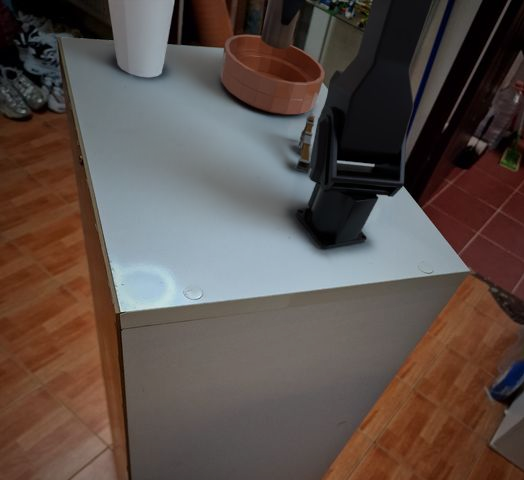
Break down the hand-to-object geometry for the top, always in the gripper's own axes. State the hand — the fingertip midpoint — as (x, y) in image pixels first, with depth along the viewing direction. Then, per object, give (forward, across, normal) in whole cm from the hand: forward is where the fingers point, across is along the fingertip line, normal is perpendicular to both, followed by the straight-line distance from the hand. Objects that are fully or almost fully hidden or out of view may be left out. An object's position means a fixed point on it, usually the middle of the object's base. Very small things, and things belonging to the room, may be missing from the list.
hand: (281, 18), depth 60 cm
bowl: (+10, +1, 0) cm, 10 cm away
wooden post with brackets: (+10, +18, +2) cm, 21 cm away
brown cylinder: (+3, 0, 0) cm, 3 cm away
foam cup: (+10, 0, -19) cm, 21 cm away
